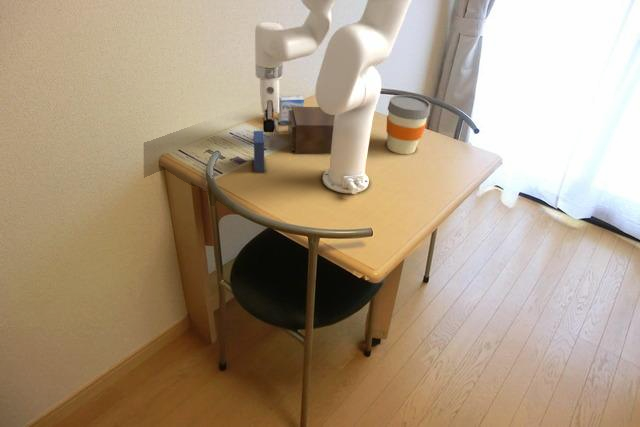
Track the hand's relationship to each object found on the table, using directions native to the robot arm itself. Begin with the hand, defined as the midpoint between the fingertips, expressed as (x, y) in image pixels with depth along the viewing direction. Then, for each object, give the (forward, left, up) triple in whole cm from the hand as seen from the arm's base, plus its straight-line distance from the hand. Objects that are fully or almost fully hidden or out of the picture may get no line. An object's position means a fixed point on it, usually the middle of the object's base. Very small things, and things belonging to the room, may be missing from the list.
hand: (268, 131), depth 134 cm
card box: (-13, +6, -4) cm, 15 cm away
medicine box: (+14, -11, -4) cm, 18 cm away
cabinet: (-3, -17, -4) cm, 17 cm away
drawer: (-2, -13, -3) cm, 13 cm away
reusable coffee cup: (-10, -41, -4) cm, 42 cm away
